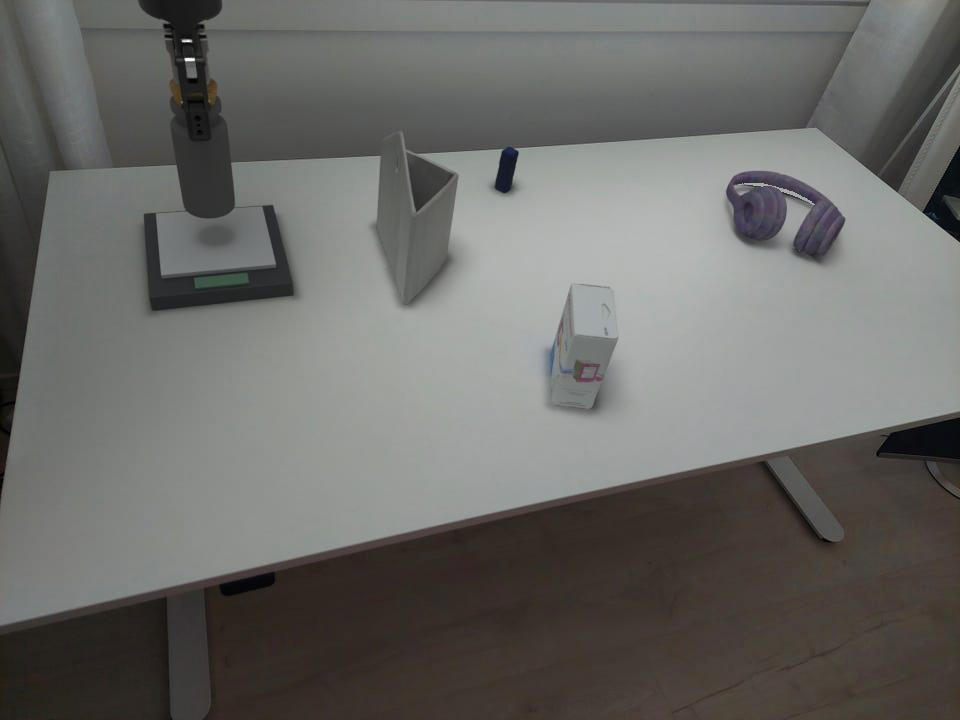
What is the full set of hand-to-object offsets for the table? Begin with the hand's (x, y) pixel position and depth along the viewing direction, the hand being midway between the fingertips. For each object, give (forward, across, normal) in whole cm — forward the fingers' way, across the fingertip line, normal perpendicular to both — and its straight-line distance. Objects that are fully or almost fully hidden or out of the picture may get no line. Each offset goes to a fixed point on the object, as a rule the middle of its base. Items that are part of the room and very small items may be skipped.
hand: (197, 123), depth 78 cm
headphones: (+18, +4, +86) cm, 88 cm away
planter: (+19, +5, +25) cm, 32 cm away
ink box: (+19, +29, +37) cm, 51 cm away
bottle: (+11, 0, 0) cm, 11 cm away
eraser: (+19, -10, +43) cm, 48 cm away
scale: (+18, +1, 0) cm, 18 cm away
